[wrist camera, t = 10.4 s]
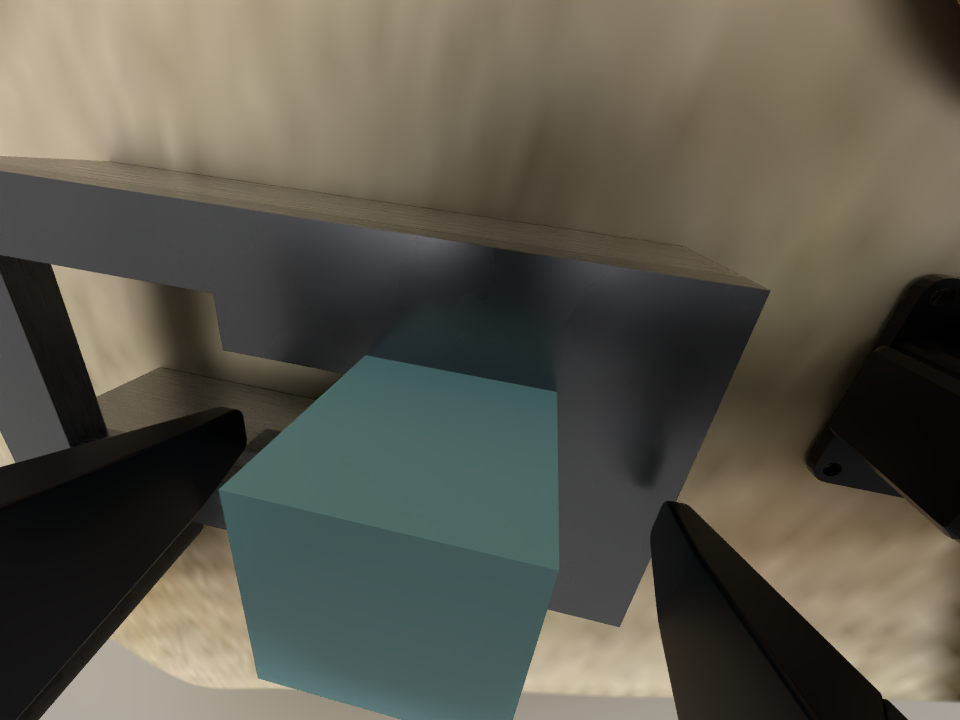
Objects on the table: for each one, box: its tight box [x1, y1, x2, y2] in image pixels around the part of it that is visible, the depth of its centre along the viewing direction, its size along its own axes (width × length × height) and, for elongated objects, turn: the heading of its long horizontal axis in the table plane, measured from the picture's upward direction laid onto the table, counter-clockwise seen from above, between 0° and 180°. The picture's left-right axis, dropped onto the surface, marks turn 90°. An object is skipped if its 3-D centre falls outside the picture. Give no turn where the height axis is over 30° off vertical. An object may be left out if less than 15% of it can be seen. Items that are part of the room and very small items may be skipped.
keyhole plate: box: [0, 156, 770, 627], centre depth 12 cm, size 18×9×5 cm, turn 83°
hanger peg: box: [219, 355, 559, 720], centre depth 9 cm, size 4×4×8 cm
